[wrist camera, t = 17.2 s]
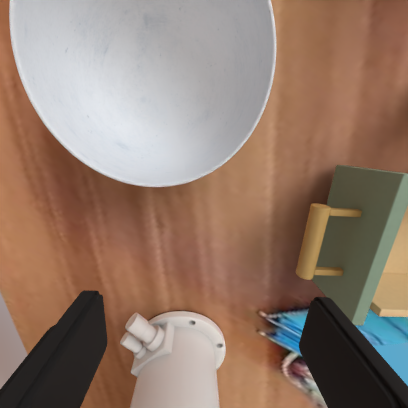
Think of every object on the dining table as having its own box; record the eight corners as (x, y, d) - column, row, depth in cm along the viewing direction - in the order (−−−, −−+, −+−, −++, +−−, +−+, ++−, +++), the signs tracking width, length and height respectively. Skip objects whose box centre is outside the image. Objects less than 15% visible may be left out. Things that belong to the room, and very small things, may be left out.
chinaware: (258, 11, 17) (306, -93, 10) (231, 180, 21) (250, 198, 14) (81, -20, 16) (-18, -163, 9) (89, 164, 20) (28, 174, 13)
